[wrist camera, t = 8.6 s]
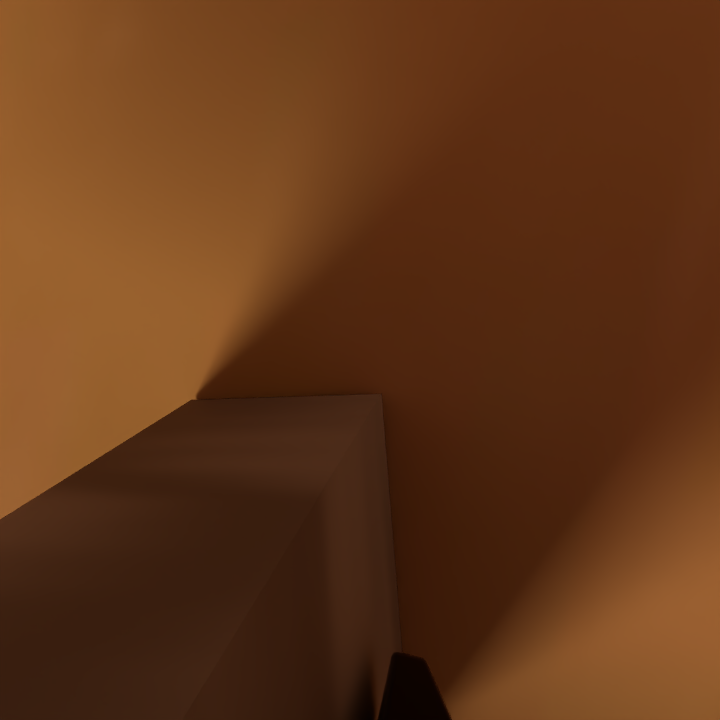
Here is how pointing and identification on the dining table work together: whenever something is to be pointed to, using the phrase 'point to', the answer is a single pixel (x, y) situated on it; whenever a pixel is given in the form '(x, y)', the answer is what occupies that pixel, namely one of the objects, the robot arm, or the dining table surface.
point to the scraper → (209, 571)
